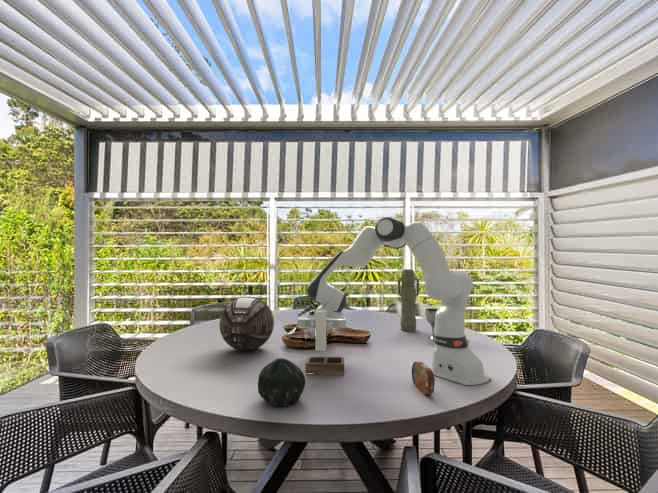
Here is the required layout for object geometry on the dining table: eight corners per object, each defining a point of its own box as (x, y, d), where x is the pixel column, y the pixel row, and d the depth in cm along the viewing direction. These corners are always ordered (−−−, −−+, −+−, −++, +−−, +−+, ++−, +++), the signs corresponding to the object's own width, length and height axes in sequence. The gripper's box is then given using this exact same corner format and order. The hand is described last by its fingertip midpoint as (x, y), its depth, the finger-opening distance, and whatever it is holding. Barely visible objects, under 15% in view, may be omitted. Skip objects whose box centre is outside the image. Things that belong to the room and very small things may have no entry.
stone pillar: (396, 328, 212) (396, 269, 212) (415, 328, 214) (415, 269, 213) (400, 332, 204) (400, 270, 203) (420, 331, 205) (420, 270, 205)
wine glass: (442, 339, 187) (442, 311, 187) (427, 339, 187) (427, 311, 187) (438, 336, 195) (438, 308, 195) (423, 335, 195) (423, 308, 195)
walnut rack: (307, 366, 147) (307, 356, 147) (344, 366, 146) (344, 356, 146) (305, 374, 138) (305, 363, 138) (344, 374, 137) (344, 364, 137)
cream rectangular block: (316, 346, 145) (316, 309, 145) (326, 347, 145) (326, 309, 144) (315, 350, 140) (315, 312, 140) (325, 350, 140) (325, 312, 139)
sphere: (279, 343, 181) (279, 293, 181) (265, 359, 156) (265, 301, 156) (231, 341, 183) (231, 292, 183) (210, 357, 158) (210, 300, 158)
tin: (410, 381, 131) (410, 358, 131) (419, 381, 131) (419, 357, 131) (427, 399, 116) (427, 373, 116) (436, 398, 116) (436, 372, 116)
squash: (287, 370, 127) (266, 344, 118) (320, 382, 117) (299, 355, 109) (263, 407, 119) (239, 382, 111) (296, 423, 109) (272, 397, 101)
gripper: (298, 311, 155) (294, 318, 142) (346, 312, 155) (346, 319, 141) (298, 325, 156) (294, 334, 142) (346, 326, 155) (346, 335, 141)
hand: (320, 326), depth 141 cm, fingers closed on cream rectangular block, 4 cm apart
